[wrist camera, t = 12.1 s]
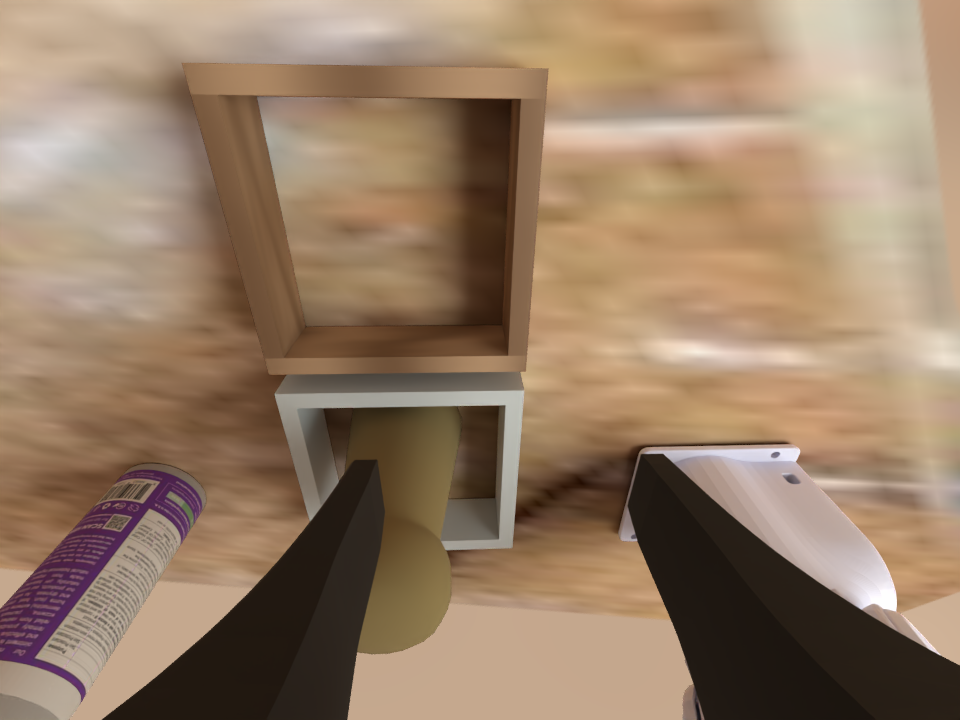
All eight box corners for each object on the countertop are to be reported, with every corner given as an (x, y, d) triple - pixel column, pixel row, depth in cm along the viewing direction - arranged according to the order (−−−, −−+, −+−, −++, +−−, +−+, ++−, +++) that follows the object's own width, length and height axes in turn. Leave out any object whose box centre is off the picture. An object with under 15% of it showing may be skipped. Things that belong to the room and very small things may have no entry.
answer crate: (516, 356, 22) (524, 390, 19) (507, 506, 28) (512, 548, 25) (296, 359, 22) (274, 394, 19) (332, 511, 27) (318, 553, 25)
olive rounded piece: (336, 387, 23) (248, 592, 13) (451, 371, 22) (445, 567, 13) (368, 471, 26) (315, 686, 16) (469, 457, 25) (476, 667, 16)
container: (113, 502, 26) (-227, 893, 13) (130, 451, 24) (-250, 850, 11) (195, 527, 27) (-40, 904, 15) (216, 481, 26) (-33, 867, 13)
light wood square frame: (534, 74, 16) (548, 68, 13) (517, 339, 22) (525, 371, 19) (227, 69, 16) (181, 62, 13) (292, 341, 21) (268, 374, 19)
